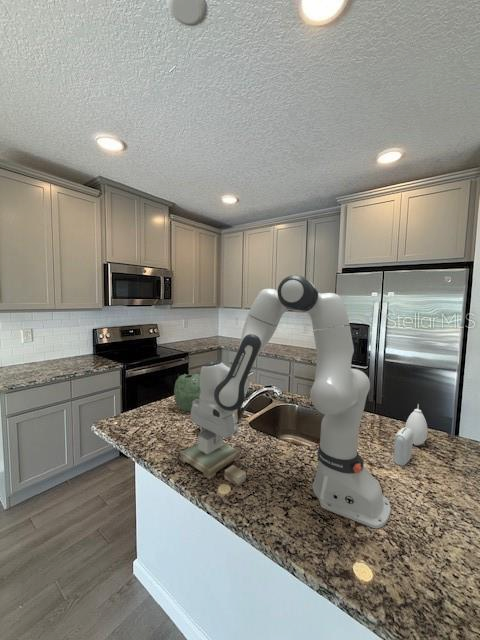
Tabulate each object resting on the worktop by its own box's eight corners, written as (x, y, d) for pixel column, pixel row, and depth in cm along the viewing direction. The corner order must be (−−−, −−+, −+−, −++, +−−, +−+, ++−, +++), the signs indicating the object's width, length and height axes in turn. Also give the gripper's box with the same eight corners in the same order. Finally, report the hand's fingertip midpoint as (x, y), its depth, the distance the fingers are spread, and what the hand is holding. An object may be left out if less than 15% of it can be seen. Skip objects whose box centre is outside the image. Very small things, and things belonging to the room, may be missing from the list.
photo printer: (400, 452, 110) (403, 423, 109) (412, 457, 107) (415, 427, 106) (391, 462, 103) (393, 431, 102) (404, 467, 100) (406, 435, 99)
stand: (240, 458, 103) (240, 450, 103) (209, 479, 91) (209, 470, 90) (210, 443, 113) (210, 435, 113) (179, 460, 101) (179, 451, 101)
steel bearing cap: (239, 432, 123) (240, 425, 123) (232, 436, 120) (232, 429, 119) (231, 428, 127) (232, 422, 126) (224, 432, 123) (224, 425, 123)
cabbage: (182, 402, 156) (182, 368, 154) (211, 407, 149) (212, 372, 147) (165, 412, 141) (165, 375, 139) (197, 419, 135) (198, 380, 133)
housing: (207, 454, 97) (207, 438, 96) (198, 448, 100) (198, 433, 100) (222, 445, 103) (223, 430, 103) (213, 440, 106) (213, 425, 106)
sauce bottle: (411, 438, 122) (414, 399, 120) (430, 446, 115) (433, 405, 113) (400, 441, 118) (403, 401, 117) (418, 451, 111) (422, 408, 110)
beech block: (245, 480, 91) (246, 472, 91) (238, 487, 88) (238, 478, 88) (232, 473, 95) (232, 464, 94) (224, 478, 92) (224, 470, 91)
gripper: (186, 399, 104) (186, 434, 106) (225, 415, 91) (224, 454, 93) (199, 395, 109) (198, 428, 110) (237, 410, 96) (236, 447, 97)
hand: (210, 440), depth 101 cm, fingers closed on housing, 5 cm apart
